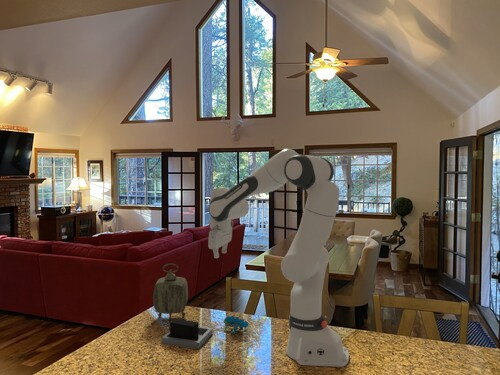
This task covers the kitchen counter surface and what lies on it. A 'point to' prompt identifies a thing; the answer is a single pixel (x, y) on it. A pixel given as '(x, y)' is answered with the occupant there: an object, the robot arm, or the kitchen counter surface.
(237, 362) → the kitchen counter surface
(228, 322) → the blue lumpy piece
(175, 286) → the tabletop clock
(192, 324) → the digital camera
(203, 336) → the tray
